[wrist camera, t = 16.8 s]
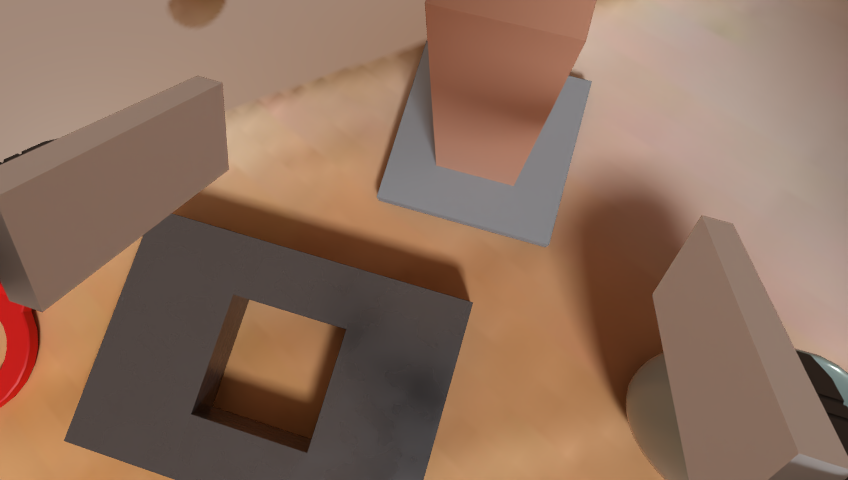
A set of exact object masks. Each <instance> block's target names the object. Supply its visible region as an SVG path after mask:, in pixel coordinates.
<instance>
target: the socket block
mask: <svg viewBox="0 0 848 480" xmlns="http://www.w3.org/2000/svg"><path fill="white" fill-rule="evenodd" d="M249 299H250V300H253V301H256V302H259V303H263V304H266V305H269V306H272V307H276V308H279V309H282V310H285V311H289V312H292V313H295V314H298V315H302V316H305V317H308V318H311V319H315V320H318V321H321V322H324V323H327V324H331V325H334V326H337V327H340V328H344V329H346V332H345V335H344V338H343V341H342V345H341V348H340V351H339V354H338V357H337V360H336V364H335V367H334V370H333V373H332V376H331V379H330V383H329V386H328V389H327V392H326V395H325V399H324V402H323V405H322V408H321V411H320V414H319V418H318V421H317V424H316V427H315V430H314V433H313V437H312V440H311V439H308V438H305V437H302V436H299V435H296V434H293V433H290V432H287V431H284V430H281V429H278V428H275V427H272V426H269V425H266V424H263V423H260V422H257V421H254V420H251V419H248V418H245V417H242V416H239V415H236V414H233V413H230V412H227V411H224V410H221V409H218V408H215V407H212V405H213V402H214V399H215V396H216V394H217V391H218V388H219V385H220V382H221V379H222V376H223V373H224V371H225V368H226V365H227V362H228V359H229V356H230V353H231V350H232V348H233V345H234V342H235V339H236V336H237V333H238V330H239V327H240V324H241V322H242V319H243V316H244V313H245V310H246V307H247V304H248V301H249ZM472 304H473V302H469V301H466V300H463V299H459V298H456V297H452V296H449V295H446V294H442V293H439V292H435V291H432V290H429V289H425V288H422V287H419V286H415V285H412V284H408V283H405V282H402V281H398V280H395V279H391V278H388V277H385V276H381V275H378V274H375V273H371V272H368V271H364V270H361V269H358V268H354V267H351V266H347V265H344V264H341V263H337V262H334V261H331V260H327V259H324V258H320V257H317V256H314V255H310V254H307V253H303V252H300V251H297V250H293V249H290V248H287V247H283V246H280V245H276V244H273V243H270V242H266V241H263V240H259V239H256V238H253V237H249V236H246V235H243V234H239V233H236V232H232V231H229V230H226V229H222V228H219V227H215V226H212V225H209V224H205V223H202V222H199V221H195V220H192V219H188V218H185V217H182V216H178V215H175V214H170V215H169V216H167V217H166V218H165V219H164V220H162V221H161V222H160V223H158V224H157V225H156V226H154V227H153V228H152V229H150V230H149V231H148V232H147V233H145V234H144V235H143V238H142V240H141V243H140V246H139V248H138V251H137V253H136V256H135V259H134V261H133V264H132V266H131V269H130V271H129V274H128V277H127V279H126V282H125V284H124V287H123V290H122V292H121V295H120V297H119V300H118V302H117V305H116V308H115V310H114V313H113V315H112V318H111V321H110V323H109V326H108V328H107V331H106V333H105V336H104V339H103V341H102V344H101V346H100V349H99V352H98V354H97V357H96V359H95V362H94V364H93V367H92V370H91V372H90V375H89V377H88V380H87V383H86V385H85V388H84V390H83V393H82V396H81V398H80V401H79V403H78V406H77V408H76V411H75V414H74V416H73V419H72V421H71V424H70V427H69V429H68V432H67V434H66V437H65V439H64V441H66V442H69V443H72V444H74V445H77V446H80V447H83V448H86V449H89V450H92V451H94V452H97V453H100V454H103V455H106V456H109V457H112V458H114V459H117V460H120V461H123V462H126V463H129V464H132V465H135V466H137V467H140V468H143V469H146V470H149V471H152V472H155V473H157V474H160V475H163V476H166V477H169V478H172V479H175V480H423V479H424V476H425V472H426V469H427V465H428V461H429V458H430V454H431V451H432V447H433V444H434V440H435V436H436V433H437V429H438V426H439V422H440V419H441V415H442V411H443V408H444V404H445V401H446V397H447V394H448V390H449V386H450V383H451V379H452V376H453V372H454V369H455V365H456V361H457V358H458V354H459V351H460V347H461V344H462V340H463V336H464V333H465V329H466V326H467V322H468V319H469V315H470V311H471V308H472Z"/></svg>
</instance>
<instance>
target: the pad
mask: <svg viewBox="0 0 848 480" xmlns="http://www.w3.org/2000/svg"><path fill="white" fill-rule="evenodd" d="M591 82H592V81H588V80H584V79H580V78H576V77H572V76H568V78H567V80H566V82H565V84H564V86H563V88H562V90H561V92H560V94H559V96H558V98H557V100H556V102H555V104H554V106H553V108H552V110H551V112H550V114H549V116H548V118H547V120H546V122H545V124H544V126H543V128H542V130H541V132H540V134H539V136H538V138H537V140H536V142H535V144H534V146H533V148H532V150H531V152H530V154H529V156H528V158H527V160H526V162H525V164H524V166H523V168H522V170H521V172H520V174H519V176H518V178H517V180H516V182H515V184H514V186H511V185H508V184H504V183H500V182H496V181H493V180H489V179H485V178H481V177H478V176H474V175H470V174H466V173H462V172H459V171H455V170H451V169H447V168H444V167H440V166H436V155H435V141H434V126H433V112H432V97H431V83H430V69H429V54H428V41H426V44H425V47H424V51H423V54H422V57H421V60H420V63H419V66H418V69H417V72H416V76H415V79H414V82H413V85H412V88H411V91H410V94H409V98H408V101H407V104H406V107H405V110H404V113H403V116H402V119H401V123H400V126H399V129H398V132H397V135H396V138H395V141H394V145H393V148H392V151H391V154H390V157H389V160H388V163H387V167H386V170H385V173H384V176H383V179H382V182H381V185H380V188H379V192H378V195H377V198H378V199H379V201H383V202H386V203H390V204H393V205H397V206H400V207H404V208H408V209H411V210H415V211H418V212H422V213H425V214H429V215H432V216H436V217H440V218H443V219H447V220H450V221H454V222H457V223H461V224H464V225H468V226H472V227H475V228H479V229H482V230H486V231H489V232H493V233H497V234H500V235H504V236H507V237H511V238H514V239H518V240H521V241H525V242H529V243H532V244H536V245H539V246H543V247H547V246H548V245H549V243H550V239H551V235H552V231H553V227H554V224H555V220H556V216H557V212H558V208H559V205H560V201H561V197H562V193H563V189H564V185H565V182H566V178H567V174H568V170H569V166H570V163H571V159H572V155H573V151H574V147H575V143H576V140H577V136H578V132H579V128H580V124H581V120H582V117H583V113H584V109H585V105H586V101H587V98H588V94H589V90H590V86H591Z"/></svg>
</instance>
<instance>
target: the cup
mask: <svg viewBox="0 0 848 480" xmlns="http://www.w3.org/2000/svg"><path fill="white" fill-rule="evenodd" d="M795 350H796V351H799V352H803V353H806V354H809V355H811V356H812V357H813V358H814V359H815V360H816V362H817V363H818V364H819V365H820V366H821V367H822V368H823V369H824V370H825V371H826V372H827V373H828V374H829V376H830V377H831V378H832V379H833V381H834V383H835V385H836V387H837V389H838V390H839V392H840V394H841V396H842V398H843V400H844V403H843V404H844V405H845V406H847V407H848V373H847V372H846V371H844V370H843V369H842V368H841V367H839V366H838V365H836V364H835V363H833V362H831V361H829V360H827V359H825V358H823V357H821V356H819V355H817V354H813V353H810V352H806V351H802V350H799V349H795ZM626 413H627V418H628V423H629V426H630V429H631V432H632V435H633V437H634V439H635V441H636V443H637V444H638V446H639V448H640V450H641V451H642V453H643V455H644V456H645V457H646V459H647V460H648V461H649V462H650V464H651V465H652V466H653V467H654V469H655V470H656V471H657V472H658V473H659V474H660V475H661V476H662V477H663V478H664V479H665V480H689V479H688V474H687V468H686V463H685V458H684V453H683V448H682V443H681V438H680V433H679V428H678V423H677V418H676V413H675V408H674V403H673V398H672V393H671V388H670V382H669V377H668V372H667V367H666V362H665V357H664V352H661V353H660V354H658V355H656V356H654V357H652V358H651V359H649V360H648V361H647V362H646V363H644V364H643V365H642V366H641V367H640V368H639V369H638V370H637V372H636V373H635V374H634V375H633V377H632V379H631V381H630V383H629V385H628V389H627V394H626Z"/></svg>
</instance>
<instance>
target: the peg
mask: <svg viewBox="0 0 848 480" xmlns="http://www.w3.org/2000/svg"><path fill="white" fill-rule="evenodd" d="M595 4H596V0H426V1H425V11H426V25H427V40H428V54H429V69H430V83H431V97H432V112H433V126H434V141H435V155H436V166H440V167H444V168H447V169H451V170H455V171H459V172H462V173H466V174H470V175H474V176H478V177H481V178H485V179H489V180H493V181H496V182H500V183H504V184H508V185H511V186H514V184H515V182H516V180H517V178H518V176H519V174H520V172H521V170H522V168H523V166H524V164H525V162H526V160H527V158H528V156H529V154H530V152H531V150H532V148H533V146H534V144H535V142H536V140H537V138H538V136H539V134H540V132H541V130H542V128H543V126H544V124H545V122H546V120H547V118H548V116H549V114H550V112H551V110H552V108H553V106H554V104H555V102H556V100H557V98H558V96H559V94H560V92H561V90H562V88H563V86H564V84H565V82H566V80H567V78H568V76H569V74H570V72H571V70H572V68H573V66H574V64H575V62H576V60H577V58H578V56H579V54H580V52H581V50H582V48H583V46H584V44H585V42H586V39H587V35H588V31H589V27H590V23H591V19H592V16H593V12H594V8H595Z"/></svg>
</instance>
